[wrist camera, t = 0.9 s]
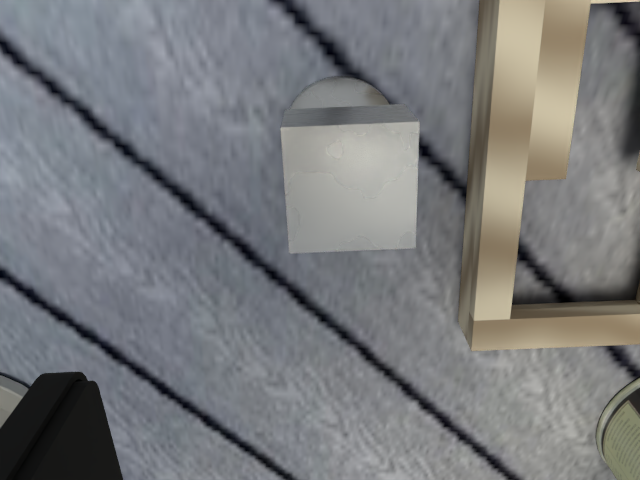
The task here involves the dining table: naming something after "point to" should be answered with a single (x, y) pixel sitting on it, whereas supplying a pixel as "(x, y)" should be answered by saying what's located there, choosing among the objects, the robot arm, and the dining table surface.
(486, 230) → the keyhole plate
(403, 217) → the keyhole peg
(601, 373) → the dining table surface
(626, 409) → the coffee can
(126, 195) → the dining table surface
